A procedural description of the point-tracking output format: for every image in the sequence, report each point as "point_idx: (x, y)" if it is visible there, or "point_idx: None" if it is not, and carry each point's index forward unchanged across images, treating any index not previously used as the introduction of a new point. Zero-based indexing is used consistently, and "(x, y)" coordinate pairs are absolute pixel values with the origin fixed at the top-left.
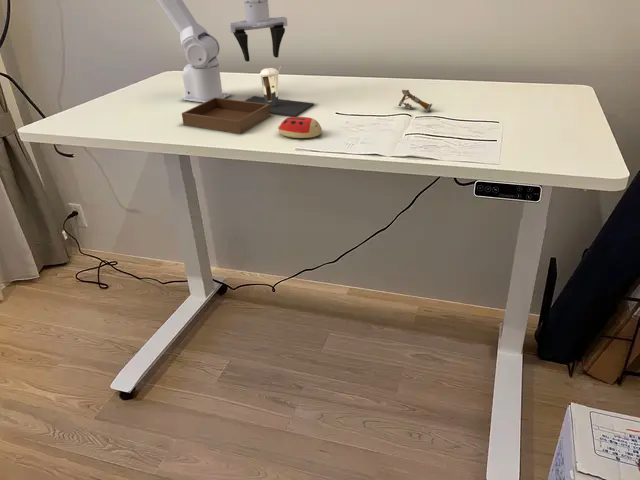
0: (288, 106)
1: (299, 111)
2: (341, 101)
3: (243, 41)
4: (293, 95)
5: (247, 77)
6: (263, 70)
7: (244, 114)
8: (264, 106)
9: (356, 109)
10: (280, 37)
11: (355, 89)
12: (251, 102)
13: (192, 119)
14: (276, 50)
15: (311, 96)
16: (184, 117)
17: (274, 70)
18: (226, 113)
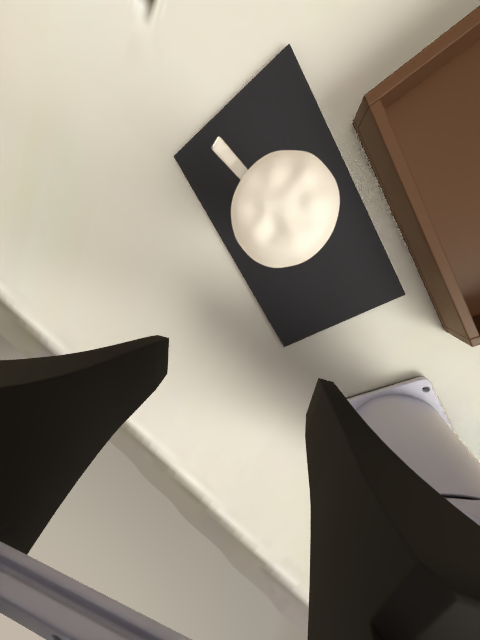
0: None
1: (251, 87)
2: (98, 140)
3: (426, 500)
4: (187, 288)
5: (216, 481)
6: (320, 210)
7: (433, 182)
8: (406, 70)
9: (84, 12)
10: (27, 363)
11: (40, 226)
12: (410, 177)
13: None
14: (140, 346)
15: (151, 246)
16: None
17: (258, 182)
18: (476, 241)
